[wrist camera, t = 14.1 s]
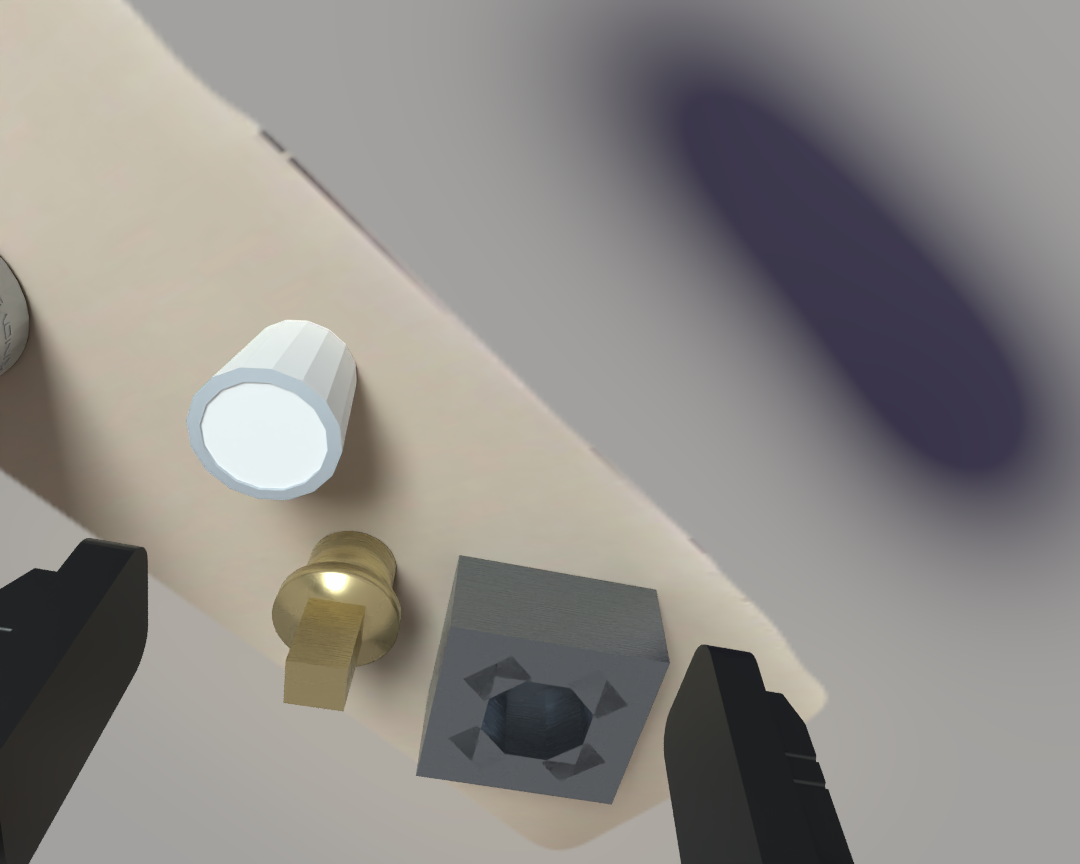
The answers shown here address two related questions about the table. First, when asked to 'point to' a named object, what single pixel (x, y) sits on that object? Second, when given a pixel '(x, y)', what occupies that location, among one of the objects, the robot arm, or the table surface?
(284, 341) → the shot glass
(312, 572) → the end cover
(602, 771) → the housing
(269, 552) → the table surface
